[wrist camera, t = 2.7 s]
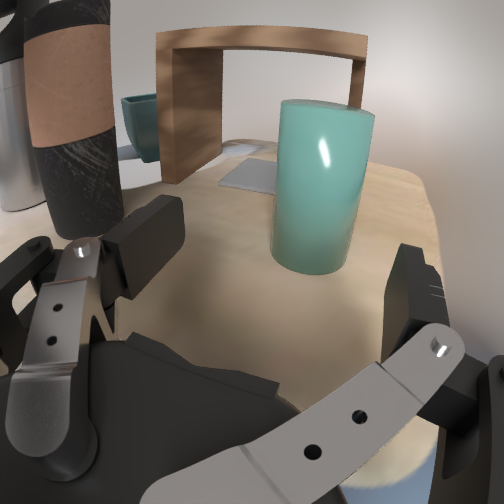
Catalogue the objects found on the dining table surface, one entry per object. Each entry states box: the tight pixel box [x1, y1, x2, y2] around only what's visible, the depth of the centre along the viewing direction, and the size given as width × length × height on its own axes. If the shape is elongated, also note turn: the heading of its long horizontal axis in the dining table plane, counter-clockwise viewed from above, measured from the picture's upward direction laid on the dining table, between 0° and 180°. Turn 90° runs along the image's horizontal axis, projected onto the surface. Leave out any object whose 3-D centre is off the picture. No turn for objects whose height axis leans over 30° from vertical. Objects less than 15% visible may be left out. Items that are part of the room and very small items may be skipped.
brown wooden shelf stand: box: [156, 26, 368, 184], centre depth 31 cm, size 20×12×17 cm, turn 70°
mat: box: [219, 158, 277, 195], centre depth 36 cm, size 9×9×1 cm
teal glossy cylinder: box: [270, 99, 375, 275], centre depth 21 cm, size 6×6×11 cm
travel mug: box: [24, 0, 124, 240], centre depth 21 cm, size 8×8×20 cm
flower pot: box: [121, 93, 160, 163], centre depth 39 cm, size 9×9×9 cm
